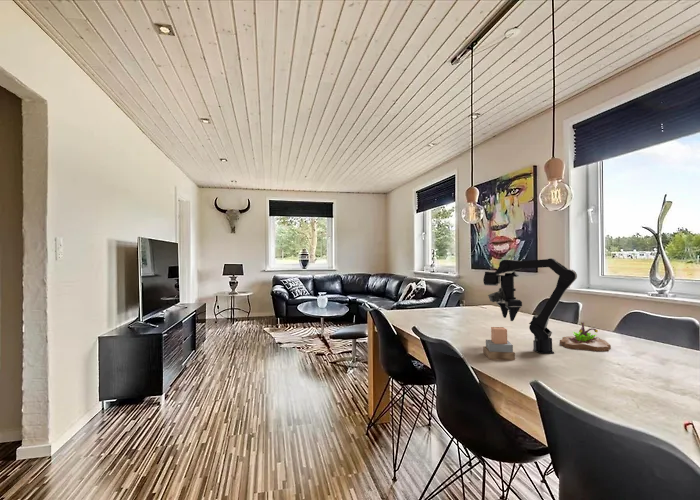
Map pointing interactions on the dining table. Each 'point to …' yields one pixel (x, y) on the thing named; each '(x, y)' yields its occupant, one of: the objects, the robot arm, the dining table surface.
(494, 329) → the terracotta block
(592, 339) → the plant
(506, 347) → the tower top
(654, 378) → the dining table surface
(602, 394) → the dining table surface
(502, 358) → the tower base
